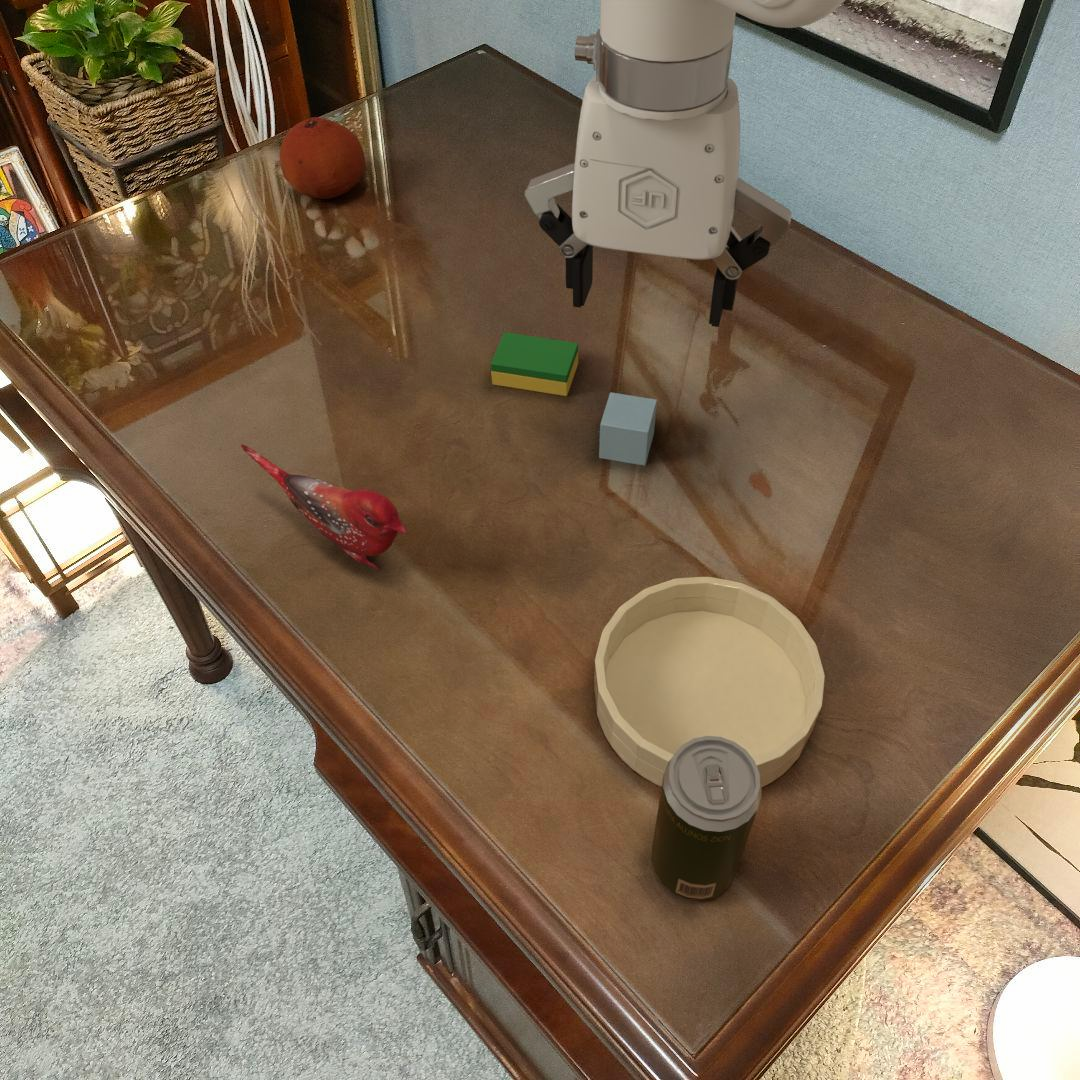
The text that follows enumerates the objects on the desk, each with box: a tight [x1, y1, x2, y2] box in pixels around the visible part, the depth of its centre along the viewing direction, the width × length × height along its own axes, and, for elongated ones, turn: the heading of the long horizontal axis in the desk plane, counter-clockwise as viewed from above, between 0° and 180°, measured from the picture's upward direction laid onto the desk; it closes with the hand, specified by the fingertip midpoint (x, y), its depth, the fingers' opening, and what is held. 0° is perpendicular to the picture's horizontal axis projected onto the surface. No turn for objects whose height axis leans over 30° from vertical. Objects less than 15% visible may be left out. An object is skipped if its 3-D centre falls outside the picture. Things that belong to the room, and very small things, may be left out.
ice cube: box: [598, 392, 658, 467], centre depth 86 cm, size 4×4×4 cm
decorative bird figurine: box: [240, 444, 408, 571], centre depth 77 cm, size 3×18×10 cm, turn 53°
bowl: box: [593, 576, 826, 789], centre depth 70 cm, size 15×15×4 cm
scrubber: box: [490, 331, 579, 397], centre depth 92 cm, size 7×4×2 cm, turn 76°
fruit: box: [279, 116, 366, 200], centre depth 110 cm, size 9×9×8 cm
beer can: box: [651, 736, 763, 902], centre depth 60 cm, size 5×5×12 cm
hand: (649, 304), depth 72 cm, fingers open, 9 cm apart
